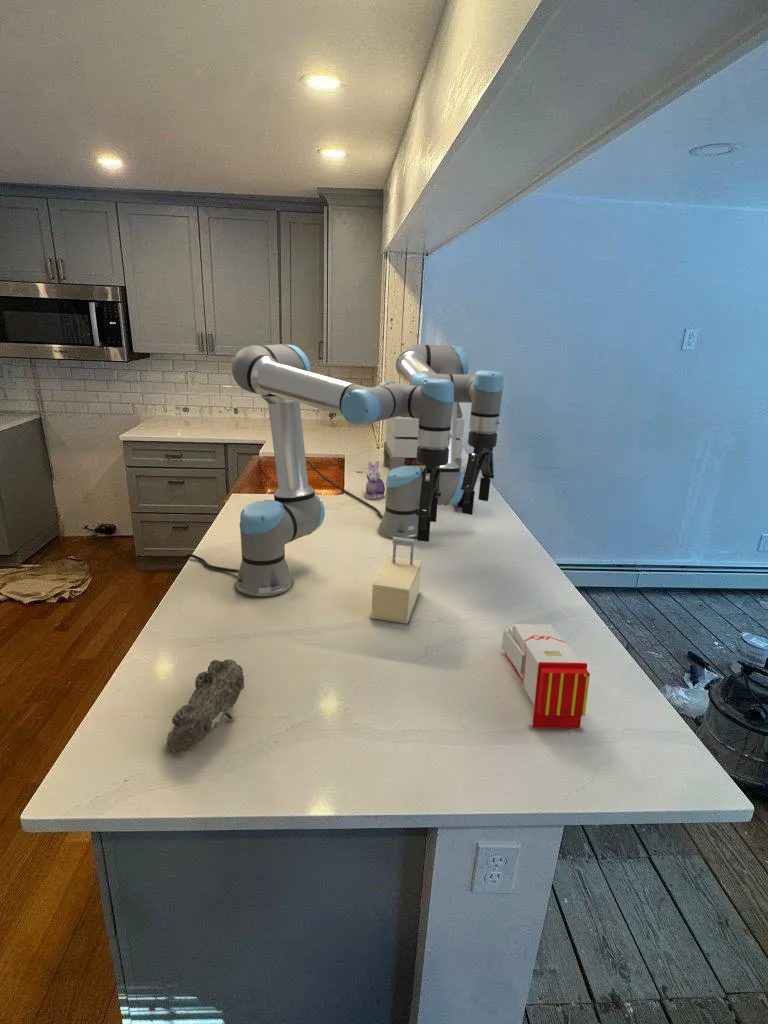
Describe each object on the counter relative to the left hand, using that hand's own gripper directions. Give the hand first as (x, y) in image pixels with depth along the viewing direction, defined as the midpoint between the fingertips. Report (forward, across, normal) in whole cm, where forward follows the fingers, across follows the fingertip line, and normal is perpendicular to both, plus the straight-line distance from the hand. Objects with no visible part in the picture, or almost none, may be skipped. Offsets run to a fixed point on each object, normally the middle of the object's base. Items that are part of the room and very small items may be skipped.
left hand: (427, 530), depth 140 cm
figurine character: (+24, +89, -2) cm, 92 cm away
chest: (+24, +3, +7) cm, 25 cm away
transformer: (+24, +134, +21) cm, 137 cm away
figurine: (+24, +91, +34) cm, 100 cm away
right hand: (0, +21, -10) cm, 24 cm away
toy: (+24, -23, -28) cm, 43 cm away
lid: (+15, +3, +7) cm, 17 cm away
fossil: (+24, -50, +33) cm, 64 cm away
